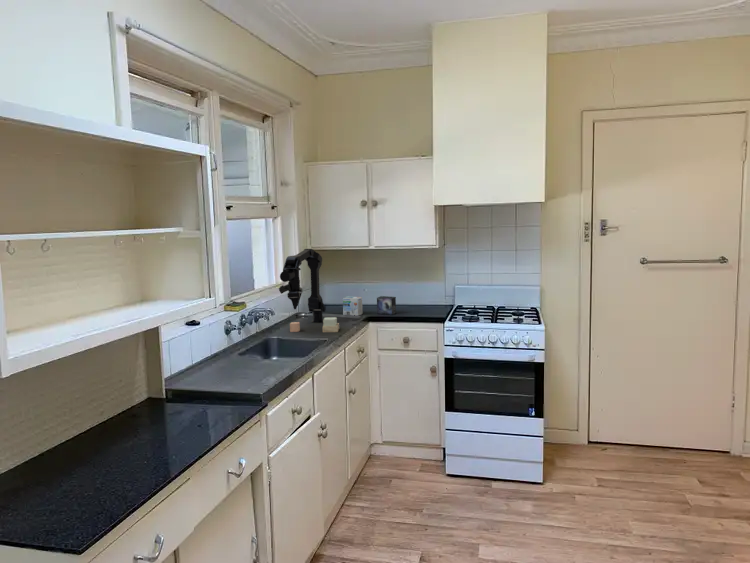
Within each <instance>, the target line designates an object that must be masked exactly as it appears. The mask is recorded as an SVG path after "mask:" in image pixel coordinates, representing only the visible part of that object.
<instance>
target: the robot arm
mask: <svg viewBox="0 0 750 563" xmlns="http://www.w3.org/2000/svg"><path fill="white" fill-rule="evenodd" d="M303 261H306V262H307V267H308V268H309V270H310V296H309V297H308V298H307V307H308V312H312V320H311V323H323V319H324V318H323V317H324V316H323V315H324V314H323V313H325V312H326V311H327V310H326V309H327V308H326V305H325V304H324V302H323V297H322V296H321V294H320V269H321V267H322V264H323V257H322V256H321V254H320V253H318V252H317V251H315V250H314V248H304V249H303V250H301V251H300V252H298V253H297V254H295V255H294V254H293V255H289V256H287V257H286V259H285V261H284V265H283V268H282V272H280V274H279V279H280V280H281V281H282V282H283V283H287V284H285V285H283V284H282V285H280V286H279V288H278V290H279V292H280V294H284V293H286V292H287V298H288V299H289V300H290V301H291V303H292V304H291V305H292V307H293V310H297V307H298V306H299V303H300V300H301V297H302V294H303V288H302V287H301V279H300V278H301V277H300V271H301V268H300V267H301V265H302V264H303V263H302V262H303Z"/></svg>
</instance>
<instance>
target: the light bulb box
mask: <svg viewBox="0 0 750 563" xmlns="http://www.w3.org/2000/svg"><path fill="white" fill-rule="evenodd" d="M342 310H343V311H342V314H343V316H354V315H355V316H360V315H363V314H364V312H363V297H362V296H345V297H343V298H342Z"/></svg>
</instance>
